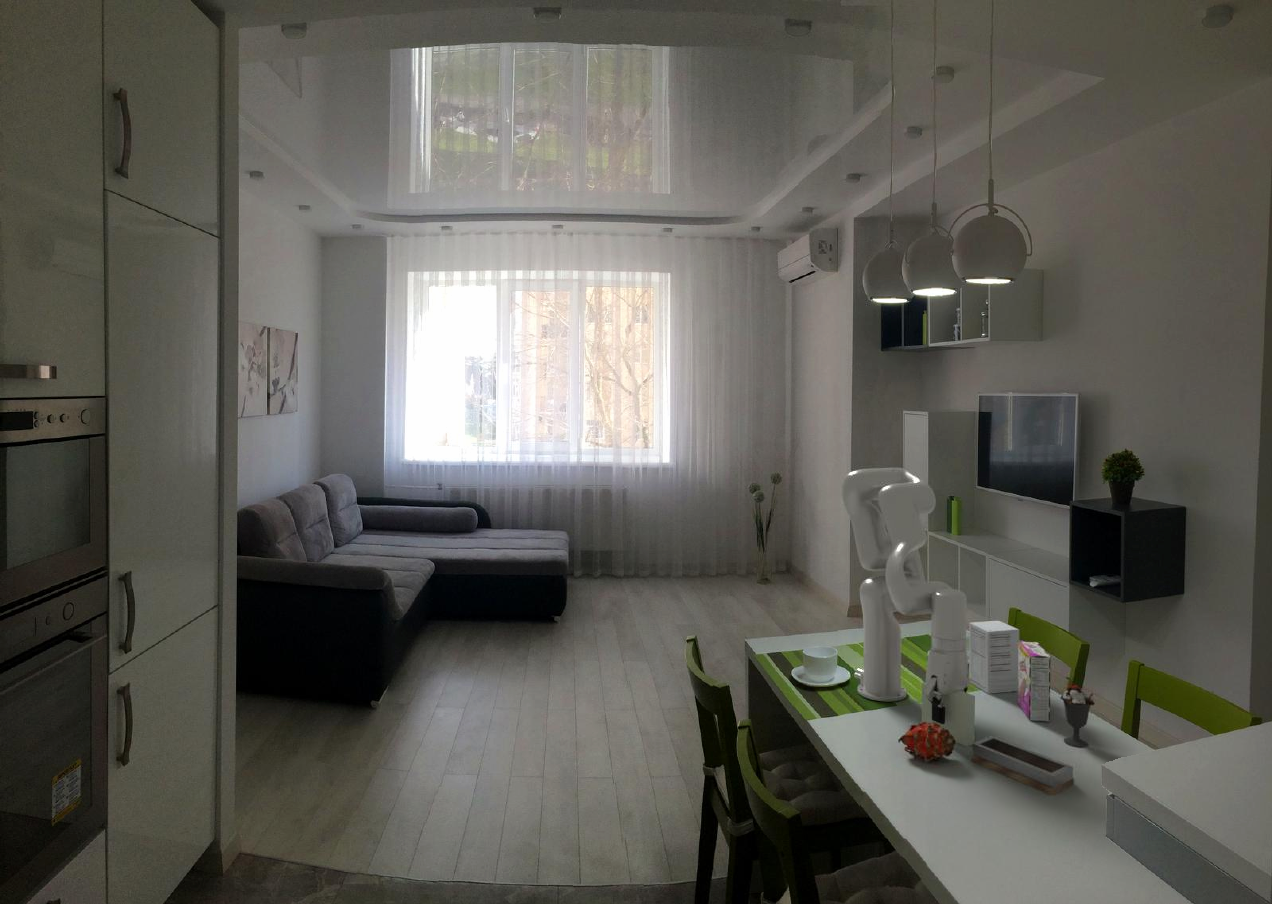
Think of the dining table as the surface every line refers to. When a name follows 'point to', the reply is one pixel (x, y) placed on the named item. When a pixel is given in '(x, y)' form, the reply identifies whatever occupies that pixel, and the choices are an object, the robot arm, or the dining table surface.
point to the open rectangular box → (1022, 764)
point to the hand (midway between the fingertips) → (947, 717)
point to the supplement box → (993, 656)
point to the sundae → (1076, 712)
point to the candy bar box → (1034, 681)
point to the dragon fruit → (928, 741)
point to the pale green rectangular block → (954, 715)
